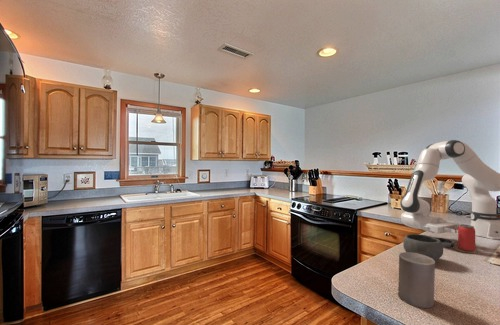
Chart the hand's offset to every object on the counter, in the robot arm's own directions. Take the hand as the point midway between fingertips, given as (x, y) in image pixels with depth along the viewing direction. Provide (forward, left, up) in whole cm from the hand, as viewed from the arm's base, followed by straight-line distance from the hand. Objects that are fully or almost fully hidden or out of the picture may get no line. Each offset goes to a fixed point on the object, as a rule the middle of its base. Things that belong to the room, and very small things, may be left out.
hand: (460, 230), depth 125 cm
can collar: (+6, -5, -9) cm, 12 cm away
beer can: (-2, +2, -9) cm, 9 cm away
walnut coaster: (-1, +1, -9) cm, 10 cm away
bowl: (+25, +22, -10) cm, 35 cm away
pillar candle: (+40, +61, -10) cm, 74 cm away
